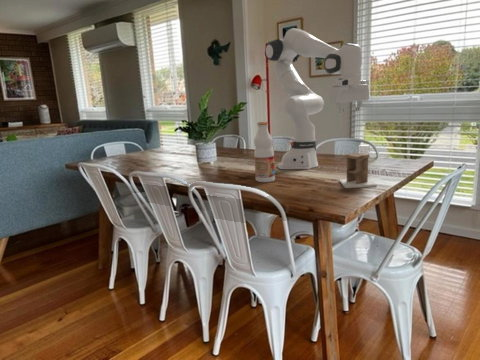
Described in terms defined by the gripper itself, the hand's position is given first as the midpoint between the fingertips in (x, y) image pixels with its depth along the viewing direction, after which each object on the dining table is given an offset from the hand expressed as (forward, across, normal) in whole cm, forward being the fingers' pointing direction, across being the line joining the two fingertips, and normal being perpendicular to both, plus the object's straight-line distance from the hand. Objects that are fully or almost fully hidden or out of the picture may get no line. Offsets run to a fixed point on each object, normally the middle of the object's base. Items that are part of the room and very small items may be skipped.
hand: (349, 111), depth 169 cm
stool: (+29, +8, +16) cm, 34 cm away
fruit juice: (+31, +37, -16) cm, 51 cm away
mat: (+30, +8, +16) cm, 35 cm away
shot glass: (+32, -40, -32) cm, 61 cm away
